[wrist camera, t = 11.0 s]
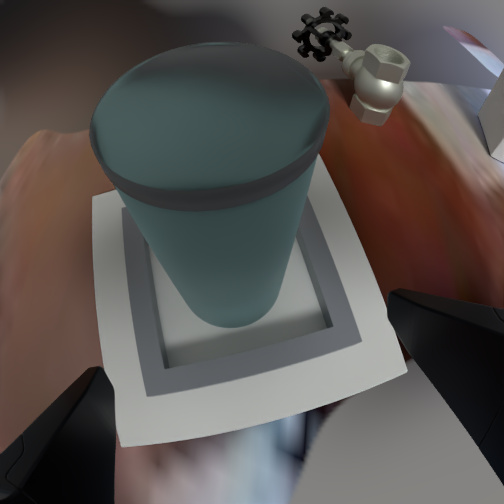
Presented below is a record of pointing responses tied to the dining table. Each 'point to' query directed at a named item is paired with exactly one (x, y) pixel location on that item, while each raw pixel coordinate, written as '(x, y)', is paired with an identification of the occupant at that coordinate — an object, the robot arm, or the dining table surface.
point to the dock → (238, 331)
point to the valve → (358, 66)
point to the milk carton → (494, 119)
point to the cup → (215, 167)
